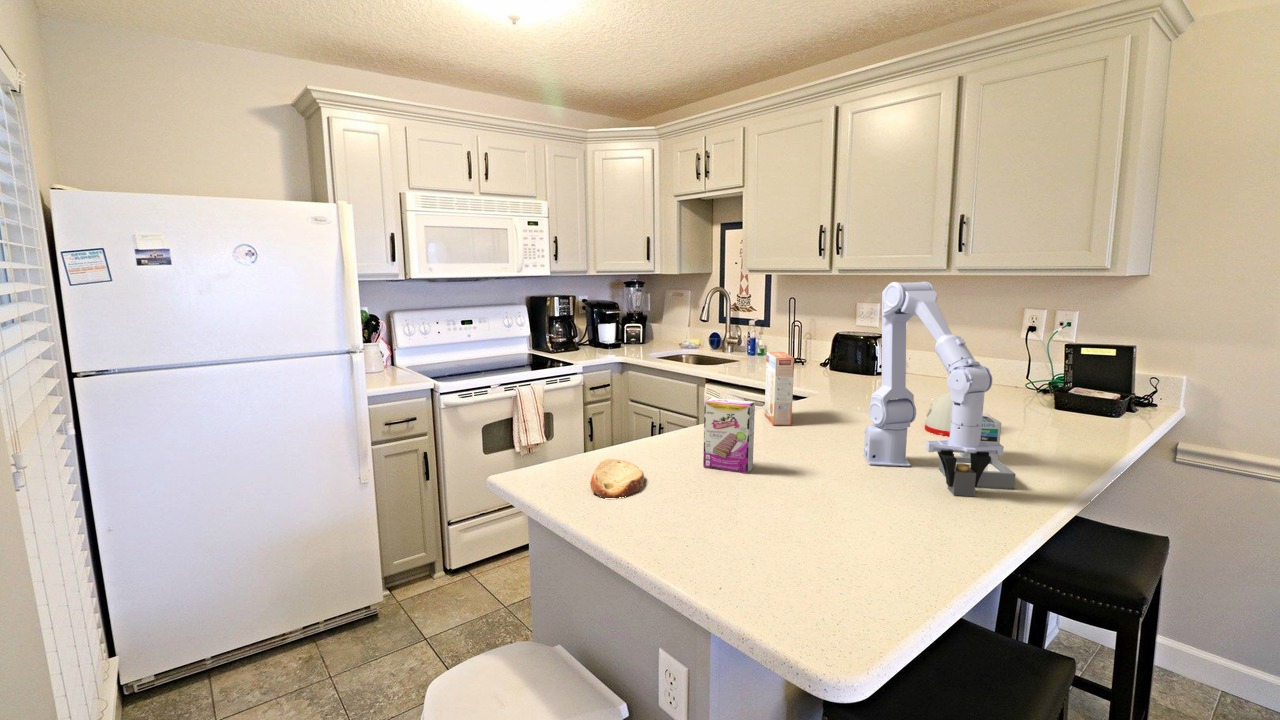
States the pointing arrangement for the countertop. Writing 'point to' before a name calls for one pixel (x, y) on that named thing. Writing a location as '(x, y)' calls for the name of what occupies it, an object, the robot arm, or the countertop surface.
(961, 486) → the plug
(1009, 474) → the box
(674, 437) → the countertop surface
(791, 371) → the cracker box
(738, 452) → the candy bar box
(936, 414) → the cream dome
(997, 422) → the light bulb box
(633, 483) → the slice of bread
